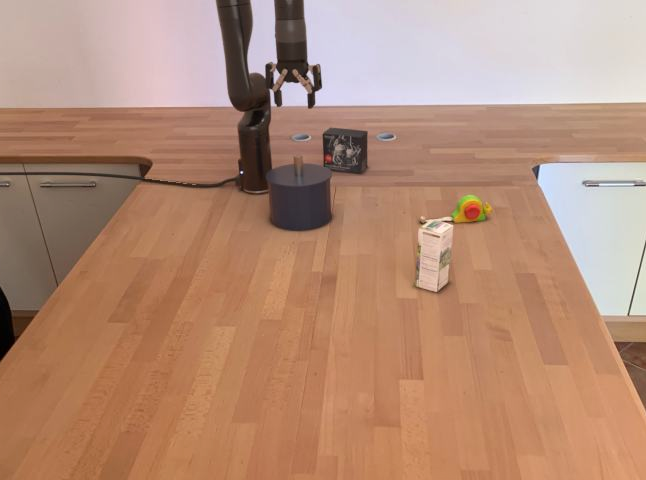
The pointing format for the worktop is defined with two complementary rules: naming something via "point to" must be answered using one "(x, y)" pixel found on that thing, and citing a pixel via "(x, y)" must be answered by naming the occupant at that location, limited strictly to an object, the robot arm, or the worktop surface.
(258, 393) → the worktop surface
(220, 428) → the worktop surface
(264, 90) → the robot arm
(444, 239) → the syrup box
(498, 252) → the worktop surface
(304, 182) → the tin lid
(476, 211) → the toy measuring tape
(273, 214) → the tin
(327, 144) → the small box
